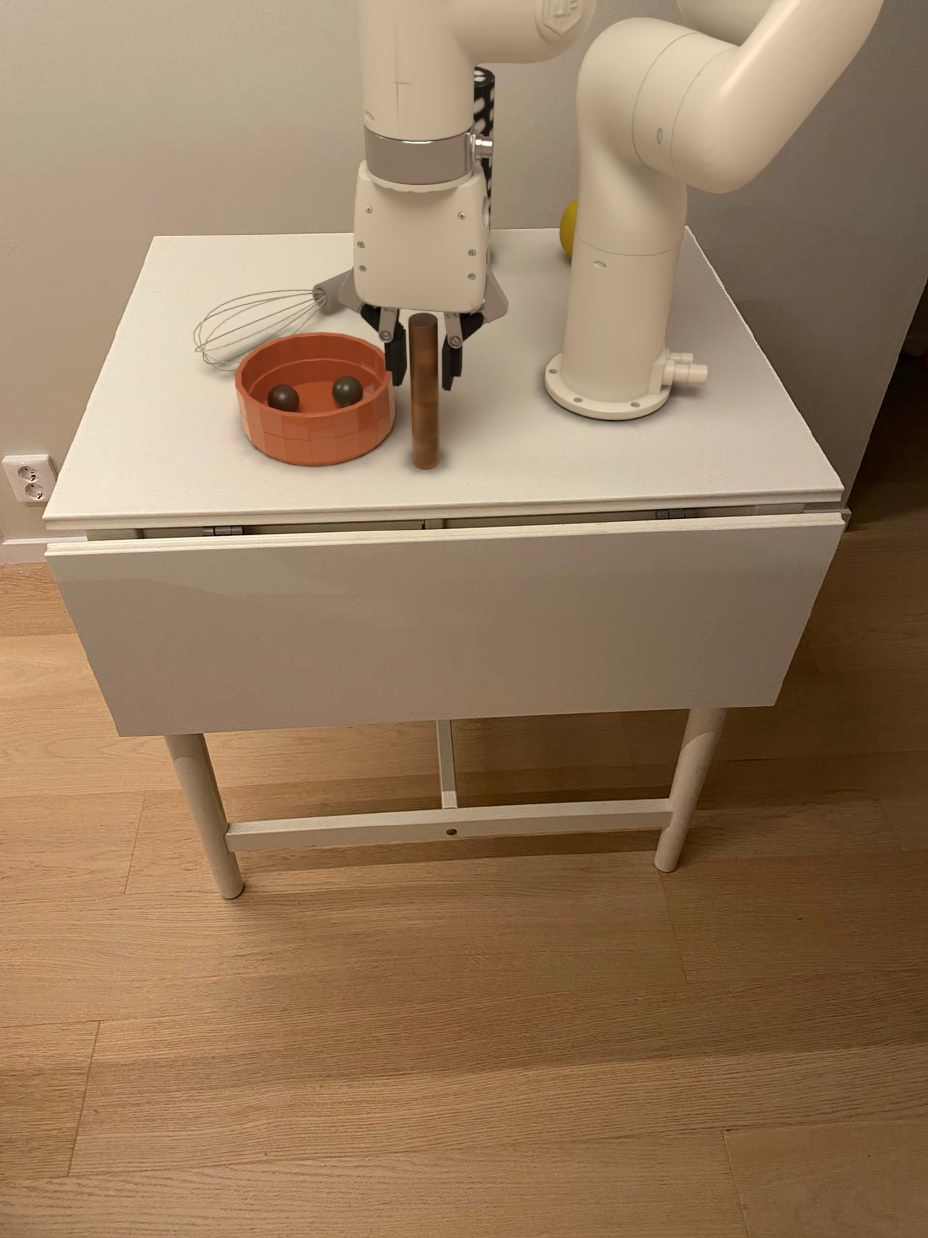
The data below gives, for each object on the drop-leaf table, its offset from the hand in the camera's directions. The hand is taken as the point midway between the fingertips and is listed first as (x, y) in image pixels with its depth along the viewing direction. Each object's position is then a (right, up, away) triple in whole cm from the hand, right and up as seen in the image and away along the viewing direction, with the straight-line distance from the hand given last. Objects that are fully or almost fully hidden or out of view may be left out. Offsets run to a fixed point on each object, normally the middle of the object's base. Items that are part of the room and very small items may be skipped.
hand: (424, 377), depth 78 cm
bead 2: (-8, +1, +10) cm, 13 cm away
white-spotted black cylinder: (+2, +23, +34) cm, 41 cm away
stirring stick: (0, -6, +6) cm, 9 cm away
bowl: (-10, -2, +10) cm, 15 cm away
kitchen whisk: (-13, +13, +24) cm, 30 cm away
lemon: (+17, +23, +34) cm, 45 cm away
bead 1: (-14, 0, +9) cm, 16 cm away
